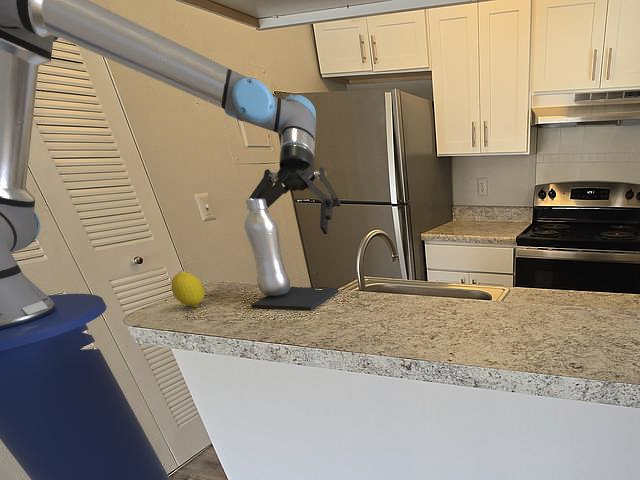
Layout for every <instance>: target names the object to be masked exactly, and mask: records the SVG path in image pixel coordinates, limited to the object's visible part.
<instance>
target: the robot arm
mask: <svg viewBox="0 0 640 480" xmlns="http://www.w3.org/2000/svg"><path fill="white" fill-rule="evenodd" d="M58 39H61V40H63V41H66V42H68V43H70V44H73V45H75V46H77V47H80V48H82V49H84V50H86V51H89V52H91V53H93V54H96V55H98V56H100V57H103V58H105V59H108V60H110V61H112V62H113V63H116V64H119V65H121V66H123V67H126V68H128V69H130V70H132V71H135V72H137V73H140V74H141V75H145V76H147V77H150V78H151V79H154V80H156V81H158V82H161V83H163V84H165V85H168V86H170V87H172V88H175V89H176V90H179V91H181V92H184V93H186V94H188V95H190V96H193V97H196V98H197V99H200V100H201V101H204V102H207V103H209V104H211V105H214V106H216V107H218V108H221V109H223V110H224V113H225V114H226V115H227V116H229V117H231V118H233V119H236V120H238V121H239V122H244V123H247V124H250V125H252V126H256V127H259V128H261V129H264V130H268V131H271V132H273V133H277V134H280V135H281V139H280V147H279V149H280V153H279V164H278V165H279V169H278V171H277V172H276V171H275V172H274V171H273V172H272V171H271V170H270V169H268V168H267V169H265V170H264V173H263V177H262V178H261V179H260V181H259V183H258V184H257V185H256V187H255V189H253V191H252V193H251V194H250V196H249V197H248V199H265V200H266V204H267V207H268V208H267V209H266V210H267V212H268V213H269V214H270V212H269V211H268V209H269V208H270V207H271V206H272V205H273V204H274V203H275V202H276V201H277V200H278V199H279V198H280V197H282V196H283V195H286V194H287V193H288V192H289V191H290V192H295V191H301V192H302V191H305V190H306V189H307V190H308V191H309V192H310V193H312V195H314V196H315V197H316V199H318V200H319V201H320V218H319V219H320V221H319V228H320V230H321V231H322V233H323V235H328V232H329V231H328V229H329V228H328V227H329V221H331V220H332V219H333V209H334V207H341V204H342V203H341V201H340V199H339V197H338V194H337V192H336V191H335V190H334V188H333V187H332V184H331V183H330V181H329V178H328V174H327V172H326V170H325V168H324V167H319V169H318V170H315V156H316V155H315V153H316V135H317V133H316V132H317V112H316V108H315V106H314V104H313V103H312V101H310V100H309V99H308V98H306V97H305V96H303V95H300V94H289V95H287V96H286V97H285V98H284V99H283V98H280V97H277V96H274V95H273V93H272V92H271V90H270V88H269V87H268V86H267V85H266V84H265V83H263V82H262V81H260V80H259V79H257V78H254V77H249V76H245V75H244V74H242V73H239V72H237V71H235V70H232V69H231V68H229V67H227V66H225V65H223V64H221V63H219V62H217V61H215V60H213V59H211V58H209V57H206V56H204V55H202V54H200V53H198V52H196V51H194V50H192V49H190V48H188V47H187V46H184V45H182V44H179V43H178V42H176V41H174V40H172V39H170V38H168V37H165V36H164V35H162V34H160V33H158V32H155V31H153V30H151V29H149V28H147V27H145V26H143V25H141V24H138V23H137V22H135V21H133V20H130V19H129V18H126V17H125V16H122V15H120V14H118V13H116V12H115V11H112V10H109V9H108V8H106V7H104V6H102V5H99V4H97V3H96V2H93V1H91V0H0V330H4V329H9V328H13V327H17V326H20V325H24V324H27V323H30V322H34V321H36V320H39V319H42V318H44V317H46V316H48V315H50V314H52V313H54V312H55V311H56V309H57V308H56V306H55V304H54V303H53V301H52V300H51V299H50V298H49V297H48V294H46V293H45V292H44V291H43V290H42V289H41V288H39V287H38V286H37V285H36V284H35V283H34V282H32V280H30V279H29V278H28V276H26V275H25V274H24V273H23V271H22V269H21V268H20V265H19V264H18V262H17V260H16V258H15V257H14V255H13V253H15V252H17V251H21V250H24V249H26V248H27V247H29V246H30V245H31V244H33V243H34V241H35V240H36V238H38V236H39V234H40V231H41V222H40V221H41V220H40V218H39V216H38V214H37V213H36V211H35V208H36V207H35V206H36V197H35V196H34V195H33V194H32V192H30V191H29V190H28V188H27V181H28V170H29V162H30V153H31V141H32V131H33V123H34V115H35V114H34V113H35V104H36V95H37V86H38V76H39V67H41V66H42V65H45V64H49V63H52V56H53V47H54V43H55V42H56V41H58ZM316 179H317V180H318V181H320V182H322V184H323V186H324V188H325V189H326V192H327V193H328V195H329V196H330V197H329V196H327V195H326V194H325V193H324V192H323V191H322V190H321V189H320V188H319V187H318V186H317V185H316V184H314V181H315V180H316Z"/></svg>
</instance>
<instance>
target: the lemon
mask: <svg viewBox="0 0 640 480" xmlns="http://www.w3.org/2000/svg"><path fill="white" fill-rule="evenodd" d="M170 285H171V286H170V287H171V291H172V294H173V296H174V297H175V299H176V300H177V301H178V302H179V303H181V304H182V305H185V306H190V307H192V308H197V307H198V305H199V304H200V303H202V302H203V301H204V299H205V296H206V292H205V287H204V284H203V283H202V281H201V280H200V278H198V276H196V275H195V274H193V273H190V272H185V271H183V270H181V271H179V272H178V273H177V274H175V275H174V276H173V277H172V279H171V283H170Z"/></svg>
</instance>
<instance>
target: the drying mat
mask: <svg viewBox="0 0 640 480" xmlns="http://www.w3.org/2000/svg"><path fill="white" fill-rule="evenodd" d="M315 289H323V290H315ZM337 293H339V288H338V287H311V286H310V287H309V286H290V290H289V292H288V293H286V294H282V295H278V296H268V295H265V296H264V297H262V298H260V299H259V300H257V301H255V302H252V303H251V304H250V306H251V308H252V309H270V310H297V311H299V310H300V311H314V309H316V308H317V307H318V306H320V305H321V304H323V303H325V302H326V301H327V300H329V299H330V298H331V297H333V296H334V295H336V294H337Z"/></svg>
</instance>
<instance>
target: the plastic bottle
mask: <svg viewBox="0 0 640 480" xmlns="http://www.w3.org/2000/svg"><path fill="white" fill-rule="evenodd" d="M245 204H246V209H247V210H248V214H247V215H246V217H245V220H244V222H243V229H244V232H245V234H246V237H247V239H248V242H249V245H250V248H251V251H252V253H253V258H254V263H255V270H256V283H257V287H258V289H259V292H260V293H261V294H262V295H264V296H278V295H282V294H286V293H288V292H289V290H290V287H291V281H290V278H289V275H288V273H287V270H286V267H285V264H284V260H283V257H282V256H283V255H282V253H281V251H282V250H281V244H280V243H281V242H280V231H279V230H280V229H279V224H278V222H277V221H276V220H275V217H273V216H272V214H270V212H269V211H268V209H269V208H268V207H267V204H266V200H265V199H249V198H246V199H245ZM267 208H268V209H267ZM266 209H267V210H266ZM267 211H268V212H269V213H268V212H267Z"/></svg>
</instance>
